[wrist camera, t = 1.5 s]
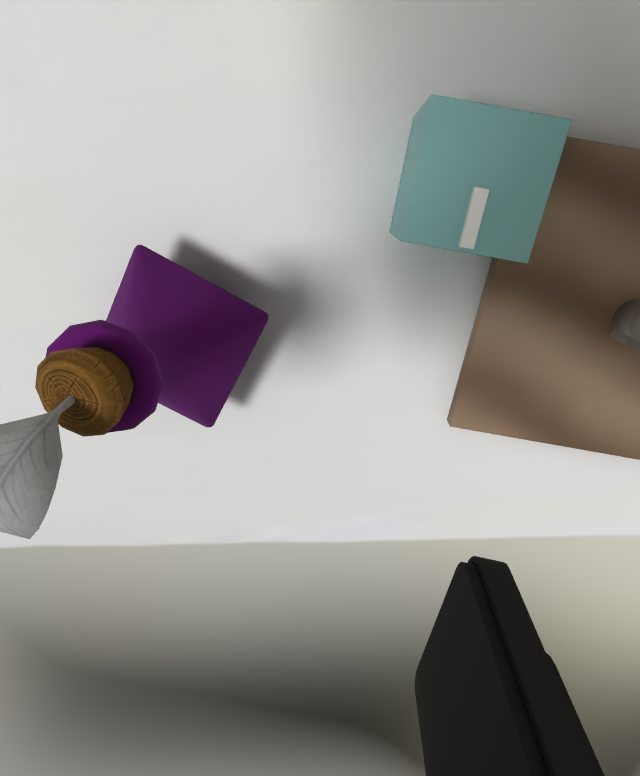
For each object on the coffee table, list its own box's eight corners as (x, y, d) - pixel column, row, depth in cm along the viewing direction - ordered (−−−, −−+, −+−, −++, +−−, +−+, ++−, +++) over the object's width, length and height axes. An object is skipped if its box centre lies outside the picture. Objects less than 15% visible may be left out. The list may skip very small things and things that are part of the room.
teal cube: (413, 117, 25) (432, 92, 19) (522, 137, 25) (575, 118, 19) (389, 232, 27) (400, 241, 21) (491, 250, 27) (529, 264, 21)
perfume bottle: (160, 237, 28) (-124, 295, 11) (278, 303, 29) (180, 446, 12) (114, 350, 31) (-174, 534, 14) (224, 407, 32) (81, 645, 15)
